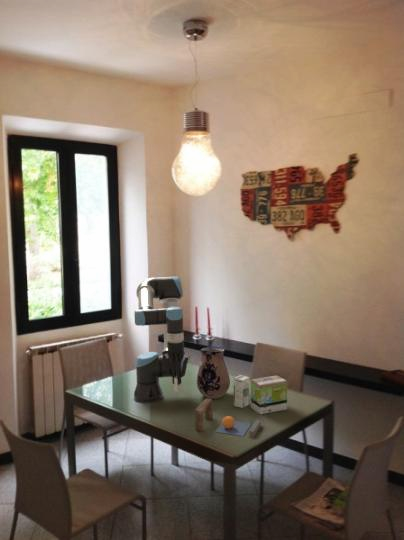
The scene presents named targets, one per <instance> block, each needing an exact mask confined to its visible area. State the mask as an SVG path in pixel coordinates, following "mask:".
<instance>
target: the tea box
mask: <svg viewBox="0 0 404 540" xmlns="http://www.w3.org/2000/svg"><path fill="white" fill-rule="evenodd" d="M250 382H251V383H250V408H251V409H253V411H255V413H256V412H257V414H259V415H263V414H268V413H269V414H271V413H274V412H275V413H276V412H280V411H287V410H288V381H287V380H286V379H284V378H282V377H280V376H279V375H270V376H264V377H259V378H252V379H251V381H250Z"/></svg>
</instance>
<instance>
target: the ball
mask: <svg viewBox="0 0 404 540" xmlns="http://www.w3.org/2000/svg"><path fill="white" fill-rule="evenodd" d="M221 423H222V424H223V426H224V427H225V428H226V429H231V428H232V427H233V426H234V424H235V419H234V417H232V416H231V415H227V416H225V417H223V418H222V422H221Z"/></svg>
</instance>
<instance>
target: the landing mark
mask: <svg viewBox="0 0 404 540" xmlns="http://www.w3.org/2000/svg"><path fill="white" fill-rule="evenodd" d="M234 421H235V420H234ZM250 427H252V422H251V423H249V422H242V421H235V424H234V426H233V427H232V428H231V429H226V428H225V427H224V426H223V424H222V422H221V424H219V426H218V427H217V428H216V430H215V431H214V433H218V434H225V435H232V436H239V437H244V436H245V435H246V433H247V432H248V430H250V429H249V428H250Z"/></svg>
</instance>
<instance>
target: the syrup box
mask: <svg viewBox="0 0 404 540" xmlns="http://www.w3.org/2000/svg"><path fill="white" fill-rule="evenodd" d="M249 405H250V377H249V376H246V375H241V374H239V375H238V376H235V377H233V406H234V407H236V408H237V407H238V408H241V409H243V408H246V407H247V406H249Z"/></svg>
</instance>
